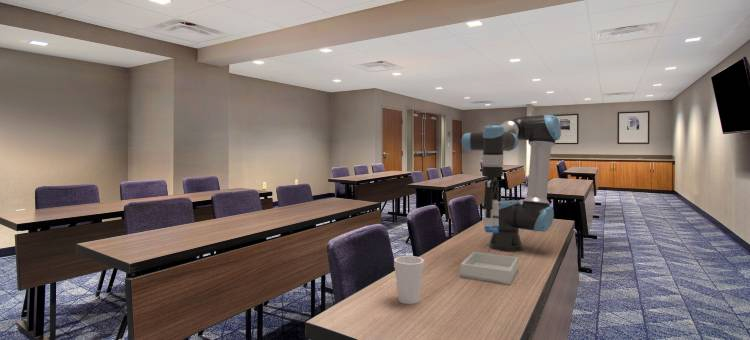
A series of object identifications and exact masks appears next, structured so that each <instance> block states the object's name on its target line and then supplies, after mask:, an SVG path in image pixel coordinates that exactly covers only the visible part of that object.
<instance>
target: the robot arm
mask: <svg viewBox="0 0 750 340" xmlns="http://www.w3.org/2000/svg"><path fill="white" fill-rule="evenodd" d="M561 136H562V128H561V123H560V120H559V118H558V117H557V116H556V115H554V114H553V115H552V114H551V115H550V114H543V115H542V114H541V115H523V116H519V117H515V118H512V119H510V120H509V119H508V120H505V121H503V122H502V123H501V124H500V125H485V126H484V128H483V130H479V131H476V132H466V133H464V134H463V135H462V137H461V145H462V146H461V147H462V148H463V149H464V150H465V151H471V152H472V151H482V157H481V160H482V165H483V166H482V171H481V173H482V174H481V175H482V176H483V177H487V180H486V181H485V182H484V184H485V186H484V197H483V198H484V200H483V206H482V210H484V209H485V226H488V227H492V222H493V209H492V205H493V200H497V201H498V202H499V233H492V234H491V237H490V240H489V245H488V246H489V248H490V249H493V250H497V251H502V252H520V251H521V250H522V249H523V243H522V240H521V236H520V233H519V232H520V231H519V229H521V230H526V231H527V230H528V231H533V232H547V231H548V230H549V229H550V228H551V227H552V224H553V222H554V217H555V213H554V211H555V210H554V207H551V206H550V205H551V203H550V201H549V200H548V199H547V198H548V185H549V175H550V166H551V164H550V163H551V153H552V147H554V146H555V145H556V141H559V140H560V139H561ZM519 141H528V143H527V144H528V145H529V146H530V156H529V157H530V158H529V159H530V160H529V166H528V167H529V169H528V180H527V191H526V197H525V198H524V199H522V203H521V202H520V200H519V199H518V200H517V199H516V200H515V199H513V200H512V199H511V200H509V199H507V200H500V193H499V192H500V191H499V190H500V189H499V185H500V184H499V182H500V180H499V179H498V178H500V177H503V175H504V168H503V167H502V166H504V151H505V152H510V151H513V150H515V149H516V148H517V147H518V145H519Z"/></svg>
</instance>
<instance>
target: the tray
mask: <svg viewBox="0 0 750 340" xmlns="http://www.w3.org/2000/svg"><path fill="white" fill-rule="evenodd" d="M518 271H519V257H518V256H517V257H516V256H510V255H502V254H495V253H486V252H479V251H473V252H472V253H471V254H469V255H468V256H467V257H466V258H465V259H464V260H463V261H462V262H461V263H460V275H459V277H460V278H464V279H469V280H470V279H471V280H477V281H483V282H489V283H495V284H502V285H508V286H511V285H512V282H513V281H514V278H515V277H516V276H517V273H518Z"/></svg>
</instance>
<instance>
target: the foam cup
mask: <svg viewBox="0 0 750 340" xmlns="http://www.w3.org/2000/svg"><path fill="white" fill-rule="evenodd" d="M393 267H394V272H395V281H396V290H397V296H398V301H399V302H400V303H402V304H404V305H405V304H406V305H414V304H417V303H418V302H419V299H420V293H421V287H422V279H423V274H424V272H423V271H424V269H425V260H424V258H421V257H419V256H413V255H402V256H397V257H395V258H394V260H393Z"/></svg>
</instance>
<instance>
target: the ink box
mask: <svg viewBox="0 0 750 340" xmlns="http://www.w3.org/2000/svg"><path fill="white" fill-rule="evenodd" d="M492 209H493V222H492V227H488V226H485V209H483V210H484V213H483V215H484V217H483V219H484V221H483V223H484V224H483V229H484V231H485V233H492V234H493V233H499V202H498V201H497V200H493V205H492Z"/></svg>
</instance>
